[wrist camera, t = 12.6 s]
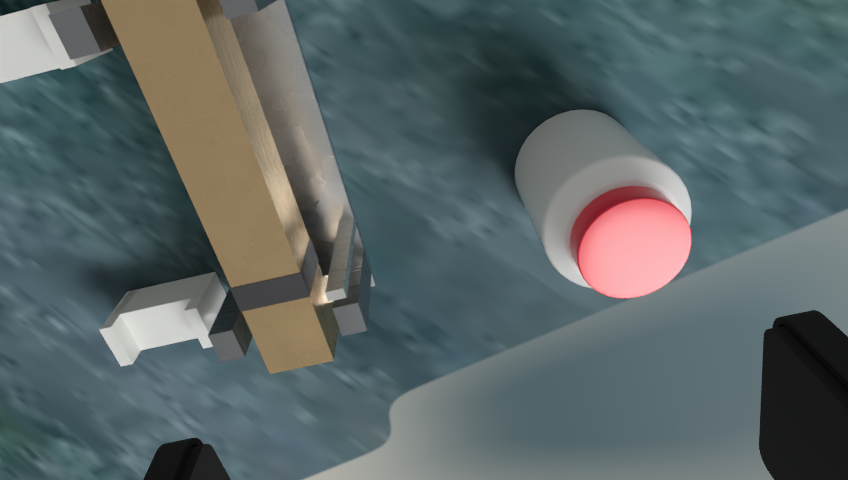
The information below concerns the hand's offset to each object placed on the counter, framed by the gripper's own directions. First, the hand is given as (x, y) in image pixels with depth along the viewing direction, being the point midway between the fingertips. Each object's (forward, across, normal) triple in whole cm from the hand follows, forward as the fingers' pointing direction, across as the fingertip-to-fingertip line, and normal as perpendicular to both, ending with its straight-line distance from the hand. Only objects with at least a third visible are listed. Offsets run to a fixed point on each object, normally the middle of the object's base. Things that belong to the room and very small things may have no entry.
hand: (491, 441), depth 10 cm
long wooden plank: (+25, +11, +2) cm, 28 cm away
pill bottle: (+28, -8, +8) cm, 31 cm away
